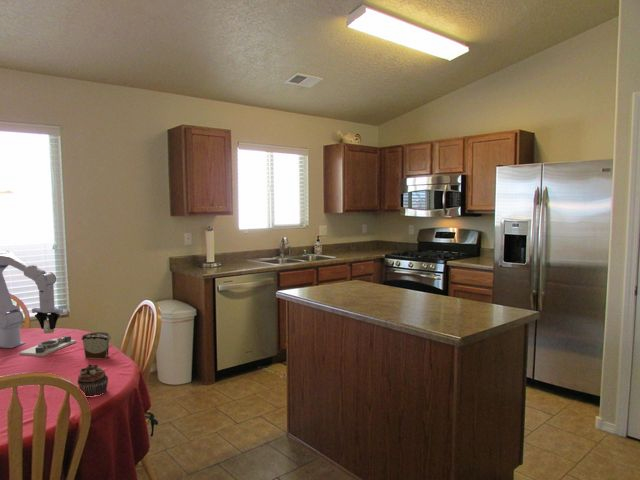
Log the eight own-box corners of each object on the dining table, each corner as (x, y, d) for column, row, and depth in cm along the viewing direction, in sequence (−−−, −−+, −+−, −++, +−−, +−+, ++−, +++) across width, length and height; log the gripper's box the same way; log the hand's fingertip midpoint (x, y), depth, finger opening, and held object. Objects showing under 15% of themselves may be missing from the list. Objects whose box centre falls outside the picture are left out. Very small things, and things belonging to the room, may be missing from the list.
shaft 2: (67, 340, 214) (67, 335, 214) (71, 341, 213) (70, 336, 212) (57, 343, 210) (56, 337, 210) (60, 344, 208) (60, 338, 208)
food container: (117, 354, 197) (116, 332, 196) (109, 359, 191) (108, 336, 190) (90, 353, 198) (89, 331, 198) (82, 358, 192) (81, 335, 191)
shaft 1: (42, 353, 196) (42, 347, 196) (35, 353, 195) (35, 347, 195) (47, 349, 201) (47, 344, 201) (40, 350, 200) (40, 344, 200)
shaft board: (19, 354, 196) (18, 348, 196) (54, 340, 216) (53, 335, 216) (42, 356, 194) (42, 350, 194) (76, 342, 214) (75, 337, 214)
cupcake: (103, 398, 153) (101, 370, 152) (73, 399, 152) (72, 371, 151) (113, 387, 163) (112, 360, 162) (85, 388, 162) (84, 361, 161)
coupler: (41, 333, 203) (41, 320, 203) (47, 331, 208) (47, 318, 207) (50, 333, 203) (49, 320, 203) (56, 331, 207) (55, 318, 207)
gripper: (67, 298, 206) (68, 327, 208) (39, 297, 209) (41, 325, 210) (55, 301, 199) (57, 331, 201) (27, 300, 202) (29, 329, 203)
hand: (48, 328), depth 205 cm, fingers closed on coupler, 4 cm apart
